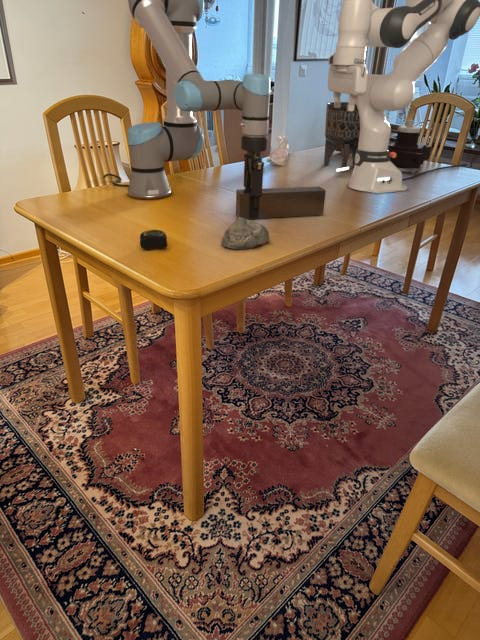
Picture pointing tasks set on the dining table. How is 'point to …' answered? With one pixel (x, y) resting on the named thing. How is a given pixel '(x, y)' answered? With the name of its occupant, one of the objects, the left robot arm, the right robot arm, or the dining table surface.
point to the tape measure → (153, 239)
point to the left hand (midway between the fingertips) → (251, 214)
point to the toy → (341, 150)
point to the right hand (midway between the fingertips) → (343, 109)
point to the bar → (283, 202)
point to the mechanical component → (409, 148)
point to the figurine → (279, 152)
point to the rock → (245, 234)
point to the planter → (341, 132)
